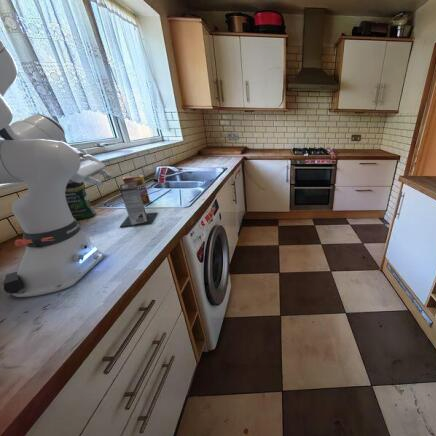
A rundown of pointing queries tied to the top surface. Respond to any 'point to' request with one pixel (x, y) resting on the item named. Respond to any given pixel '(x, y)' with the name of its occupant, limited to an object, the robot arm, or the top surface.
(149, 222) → the mat
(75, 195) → the dark green food bag
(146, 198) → the candy box
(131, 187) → the coffee box
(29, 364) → the top surface
